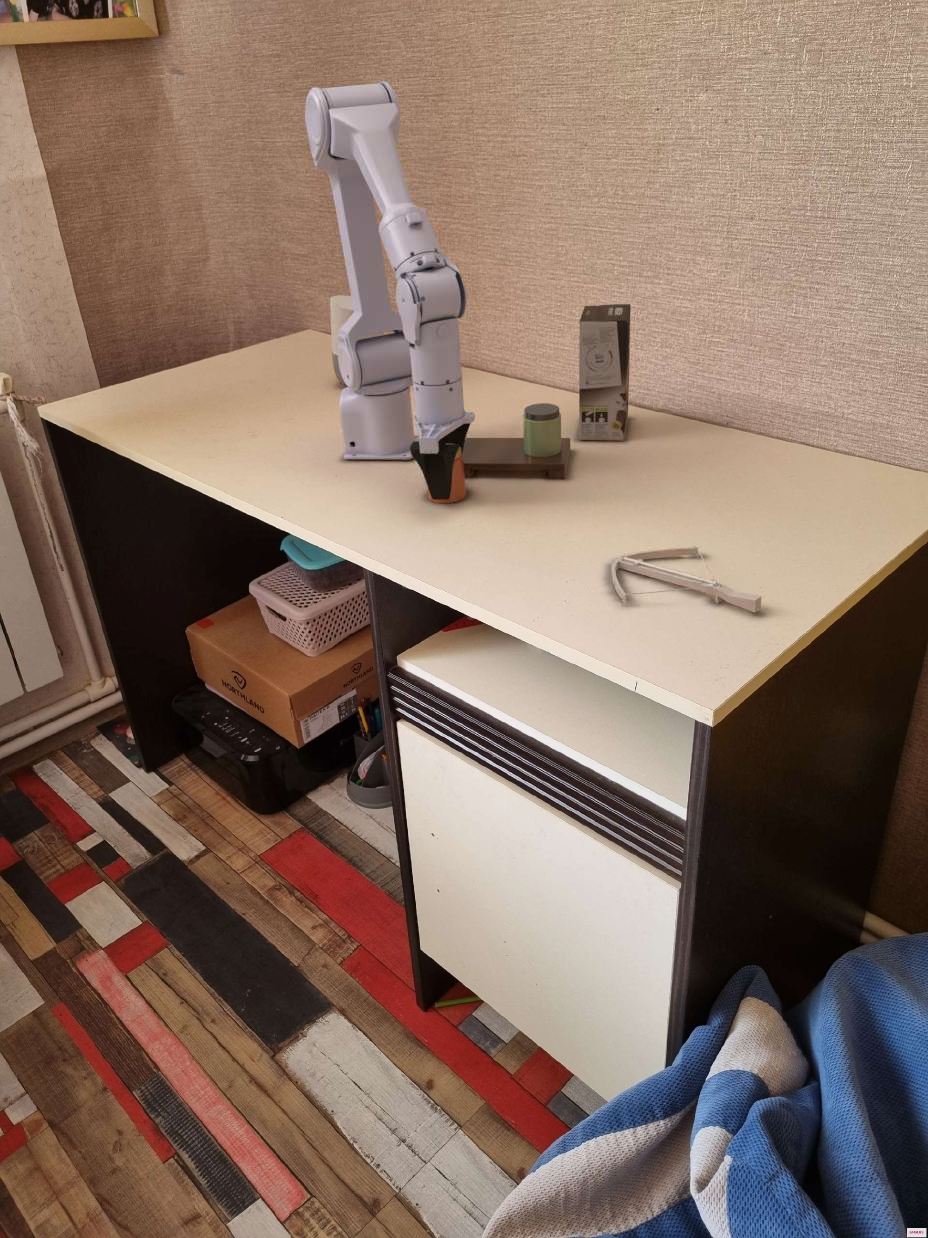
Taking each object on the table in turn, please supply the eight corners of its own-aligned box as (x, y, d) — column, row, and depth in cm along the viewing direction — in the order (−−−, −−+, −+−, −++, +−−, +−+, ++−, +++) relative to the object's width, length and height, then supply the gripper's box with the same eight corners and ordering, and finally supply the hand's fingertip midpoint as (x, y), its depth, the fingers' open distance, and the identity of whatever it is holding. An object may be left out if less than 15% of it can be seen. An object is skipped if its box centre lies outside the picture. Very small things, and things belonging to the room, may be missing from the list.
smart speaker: (388, 389, 154) (379, 301, 147) (332, 393, 154) (320, 305, 147) (393, 372, 162) (384, 287, 155) (339, 375, 162) (328, 291, 155)
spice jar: (425, 503, 115) (420, 456, 112) (432, 487, 119) (428, 442, 116) (462, 503, 114) (458, 456, 111) (468, 488, 118) (465, 442, 115)
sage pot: (521, 457, 120) (520, 415, 117) (526, 443, 124) (525, 402, 121) (559, 457, 119) (559, 415, 116) (563, 443, 123) (562, 402, 120)
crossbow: (580, 595, 95) (579, 577, 94) (652, 549, 102) (652, 531, 101) (721, 640, 85) (722, 620, 84) (791, 585, 92) (792, 566, 91)
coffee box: (625, 441, 128) (628, 319, 119) (577, 440, 129) (577, 320, 121) (629, 418, 135) (632, 302, 127) (584, 417, 137) (584, 303, 128)
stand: (455, 477, 121) (453, 463, 120) (467, 451, 128) (466, 437, 127) (564, 478, 118) (564, 463, 117) (570, 451, 126) (570, 437, 125)
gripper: (460, 398, 102) (468, 513, 109) (481, 359, 114) (487, 464, 121) (396, 398, 103) (408, 512, 110) (424, 359, 115) (433, 464, 122)
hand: (446, 487), depth 116 cm, fingers open, 6 cm apart
